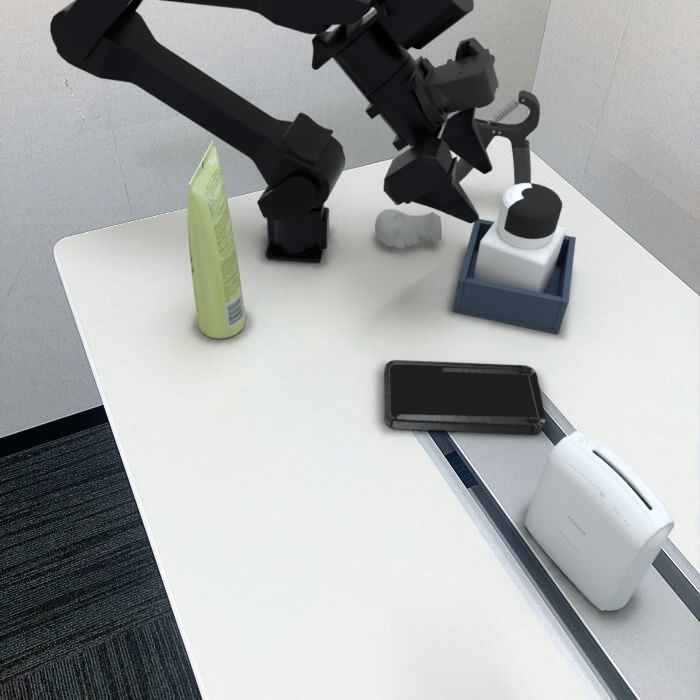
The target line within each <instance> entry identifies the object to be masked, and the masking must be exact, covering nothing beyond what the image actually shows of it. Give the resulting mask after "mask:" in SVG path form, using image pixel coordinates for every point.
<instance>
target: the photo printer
mask: <svg viewBox="0 0 700 700" xmlns="http://www.w3.org/2000/svg"><path fill="white" fill-rule="evenodd" d="M675 522H676V521H675V520H674V518H673V516H672V514H671V513H670V511H669V509H668V508H667V506H666V504H664V502H663V501H662V499H661V498H660V496H659V495H658V494H657V493H656V492H655V490H654V489H653V488H652V487H651V486H650V484H649V483H648V482H647V481H646V480H645V479H644V478H643V476H642V475H641V474H639V473H638V472H637V471H636V470H635V468H634V467H633V466H631V465H630V464H629V463H628V462H627V461H625V460H624V459H623V458H622V457H621V456H620V455H619V454H618V453H616V452H615V451H614V450H612V449H611V448H610V447H609V446H608V445H606V444H604V443H603V442H601V441H599V440H598V439H596V438H595V437H593V436H591V435H589V434H587V433H585V432H583V431H581V430H574V431H573V432H572V433H570V434H569V435H567V436H564V437H563V438H562V439H560V440H559V441H558V442H557V444H556V445H555V446H554V447H553V448H552V449H551V451H550V453H549V454H548V456H547V458H546V460H545V463H544V465H543V469H542V471H541V474H540V476H539V479H538V482H537V486H536V487H535V490H534V493H533V496H532V499H531V501H530V504H529V507H528V510H527V513H526V516H525V519H524V525H525V527H526V529H527V530H528V532H529V534H530V535H531V536H532V538H533V539H534V540H535V542H537V544H538V545H539V546H540V547H541V548H542V550H543V551H544V552H545V553H546V554H547V556H548V557H549V558H550V559H551V560H552V561H553V562H554V564H555V565H556V566H557V567H558V568H559V569H560V570H561V571H562V572H563V574H564V575H565V576H566V577H567V578H568V580H569V581H571V582H572V584H573V585H574V586H575V587H576V588H577V589H578V590H579V591H580V592H581V593H582V595H583V596H585V598H587V600H588V601H590V602H591V603H592V604H593V605H594V607H596V608H598V610H600V611H603V612H604V611H607V612H608V611H611V612H612V611H617V610H620V609H623V607H625V606H626V605H627V603H629V601H630V599H631V598H632V596H633V595H634V593H635V591H637V588H638V586H639V585H640V584H641V582H642V580H643V579H644V577H645V575H646V574H647V572H648V570H649V569H650V568H651V566H652V564H653V563H654V561H655V560H656V558H657V557H658V555H659V553H660V551H661V550H662V548H663V546H664V545H665V543H666V541H667V540H668V537H669V536H670V534H671V532H672V531H673V529H674V527H675V524H676V523H675Z"/></svg>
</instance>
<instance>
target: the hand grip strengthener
mask: <svg viewBox="0 0 700 700" xmlns="http://www.w3.org/2000/svg"><path fill="white" fill-rule="evenodd" d="M519 105H523V106H525V107H526V108H527V109H528V110H529V114H528V115H527V117H526V118H525V119H524V120H523V121H521V122H517V123H501V122H500V121H501V120H502V119H504V118H505V117H506V116H508V115H509V114H511V112H513V111H514V110H516V108H518V107H519ZM540 116H541V105H540V101H539V99H538V97H537V96H536V95H535V94H533V93H532V92H531V91H527V90H520V91H518V99H517V98H515V97H513V98H512V99H511V100H509V101H508V102H507V103H506V104H505V105H503V106H502V107H500V108H499V109H498V110H497V111H495V113H493V114H492V117H493V118H489V119H488V120H486V119H481V118H476V117H475V122H476V124H477V127H478V130H479V133H480V136H481V138H482V141H483V144H484V146H485V149H486V150H487V148H488V147H489V146H490V144H491V142H492V141H493V140H494V138H495V137H502V138H506V139H507V140H509V142H510V146H511V152H512V162H513V163H512V164H513V181H514V182H513V183H514V185H516V184H521V183H532V164H531V148H530V141H529V139H527V137H528V136H529V135H531V134H532V133H533V132H534V131H535V130H536V129H537V128H538V126H539V124H540ZM473 169H475V168H474V167H472V166H471V165H469V164H468V163H467V162H465V161H464V160H463V159H461V158H460V157H459V159H457V165H456V171H455V177H456V179H457V180H458V182H459V183H461V182H462V181H463V180H464V179H465V178H466V177H467V176H469V174H470V173H471V172H472V170H473ZM514 185H513V186H514Z"/></svg>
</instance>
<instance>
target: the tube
mask: <svg viewBox="0 0 700 700" xmlns="http://www.w3.org/2000/svg"><path fill="white" fill-rule="evenodd" d="M221 168H222V167H221V164H220V159H219V155H218V151H217V147H216V146H215V141H214V139H212V140H211V142H210V143H209V146H208V148H207V150H206V151H205V153H204V154H203V157H202V159H201V161H200V163H199V164H198V166H197V168H196V170H195V171H194V173H193V175H192V177H191V178H190V180H189V183H188V192H187V197H186V198H187V200H186V202H187V203H186V206H187V207H186V211H187V235H188V236H187V237H188V248H189V259H190V268H191V270H190V271H191V278H192V279H191V280H192V287H193V288H192V289H193V296H194V303H195V310H196V318H197V324H198V328H199V330H200V331H201V333H202V334H204V335H205V336H207V337H210V338H213V339H227V338H231V337H234V336H235V335H237V334H239V333H240V332H241V331H242V330H243V328H244V327H245V325H246V314H245V313H246V312H245V303H244V297H243V289H242V282H241V281H242V280H241V275H240V268H239V267H240V266H239V260H238V254H237V248H236V241H235V236H234V230H233V225H232V219H231V213H230V208H229V202H228V198H227V193H226V187H225V182H224V177H223V172H222V169H221Z"/></svg>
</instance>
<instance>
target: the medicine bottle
mask: <svg viewBox="0 0 700 700" xmlns="http://www.w3.org/2000/svg"><path fill="white" fill-rule="evenodd" d="M562 209H563V202H562V200H561V198H560V196H559V194H558V193H556V191H554V190H553V189H551V188H549V187H547V186H546V185H542V184H538V183H534V182H531V183H521V184H516V185H511V186H510V187H508V188H506V190H505V191H503V193H502V197H501V203H500V207H499V211H498V216H497V217H496V219H495V220H494V221H493V222H494V223H493V225H492V226H491V228H490V229H489V230H488V232H487V233H486V234H485V236H484V237H483V238H482V240H481V241H480V246H479V251H478V256H477V261H476V266H475V271H474V276H473V279H476V280H481V281H486V282H491V283H495V284H500V285H505V286H510V287H515V288H520V289H525V290H530V291H534V292H539V293H543V292H544V290H545V288H546V287H547V285H548V283H549V282H550V280H551V278H552V275H553V272H554V269H555V265H556V262H557V259H558V255H559V252H560V249H561V245H562V242H563V239H564V235H566V228H565V227H563V226H561V225H559V220H560V217H561V213H562Z"/></svg>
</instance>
